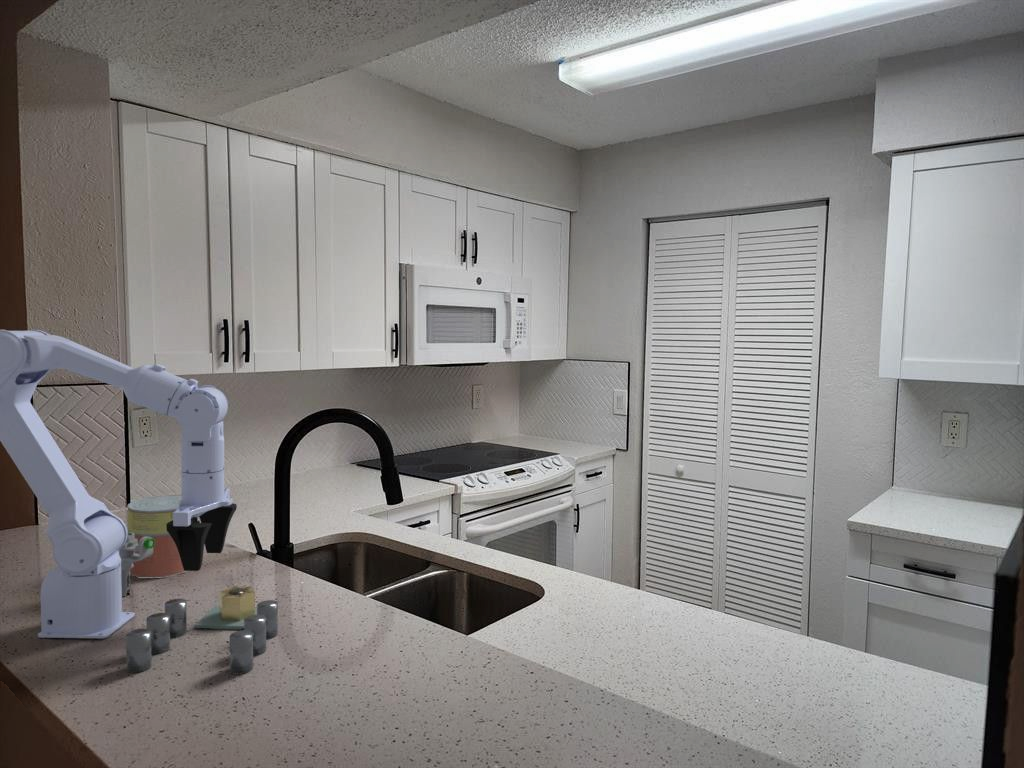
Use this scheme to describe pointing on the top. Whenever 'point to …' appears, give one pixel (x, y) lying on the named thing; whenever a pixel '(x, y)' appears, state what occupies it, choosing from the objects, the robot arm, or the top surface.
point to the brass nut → (236, 603)
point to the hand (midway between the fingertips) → (203, 561)
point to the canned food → (155, 535)
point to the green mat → (219, 621)
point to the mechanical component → (133, 557)
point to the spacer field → (176, 624)
